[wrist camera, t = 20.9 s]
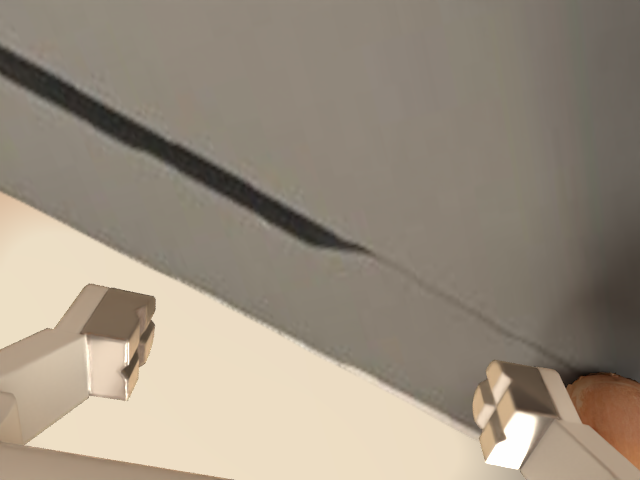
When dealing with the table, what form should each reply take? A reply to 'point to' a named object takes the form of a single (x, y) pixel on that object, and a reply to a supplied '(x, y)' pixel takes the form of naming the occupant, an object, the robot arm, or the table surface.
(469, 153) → the table surface
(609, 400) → the onion
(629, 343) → the table surface
